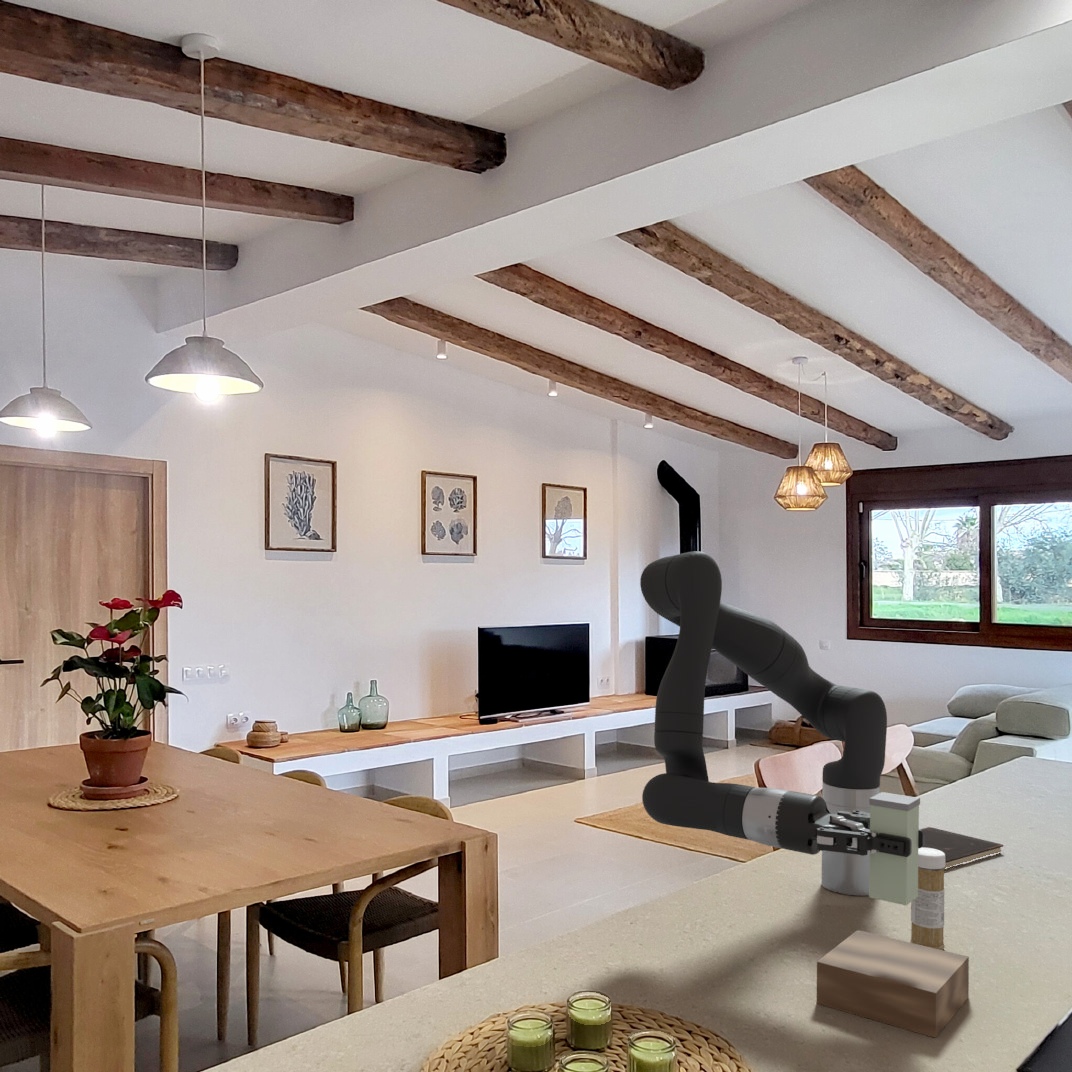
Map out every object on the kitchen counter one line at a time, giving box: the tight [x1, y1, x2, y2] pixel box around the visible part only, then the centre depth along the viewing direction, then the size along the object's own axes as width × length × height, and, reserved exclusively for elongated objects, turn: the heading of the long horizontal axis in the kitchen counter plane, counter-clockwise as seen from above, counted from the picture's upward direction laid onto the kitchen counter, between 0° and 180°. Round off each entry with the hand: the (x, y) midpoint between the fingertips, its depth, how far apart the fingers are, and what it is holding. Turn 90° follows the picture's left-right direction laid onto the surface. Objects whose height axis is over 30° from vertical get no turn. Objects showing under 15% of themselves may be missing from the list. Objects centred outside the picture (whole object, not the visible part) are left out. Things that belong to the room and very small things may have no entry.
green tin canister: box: [868, 791, 921, 906], centre depth 123 cm, size 5×5×12 cm
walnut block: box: [816, 929, 970, 1039], centre depth 123 cm, size 14×14×5 cm
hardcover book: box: [920, 826, 1004, 868], centre depth 188 cm, size 16×23×2 cm
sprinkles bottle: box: [910, 848, 945, 951], centre depth 141 cm, size 5×5×14 cm
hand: (916, 843), depth 121 cm, fingers closed on green tin canister, 4 cm apart
